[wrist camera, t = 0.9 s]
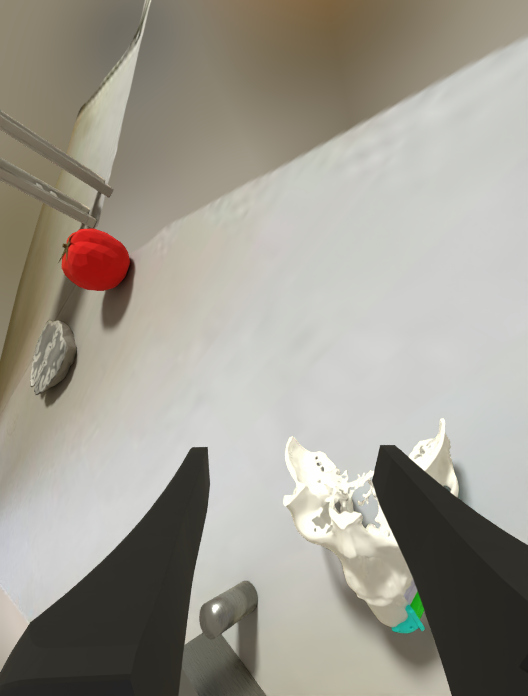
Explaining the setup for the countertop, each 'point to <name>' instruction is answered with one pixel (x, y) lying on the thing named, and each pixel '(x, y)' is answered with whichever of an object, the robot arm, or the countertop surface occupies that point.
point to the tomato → (94, 260)
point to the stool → (39, 189)
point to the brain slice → (52, 356)
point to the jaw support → (352, 537)
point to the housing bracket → (219, 649)
